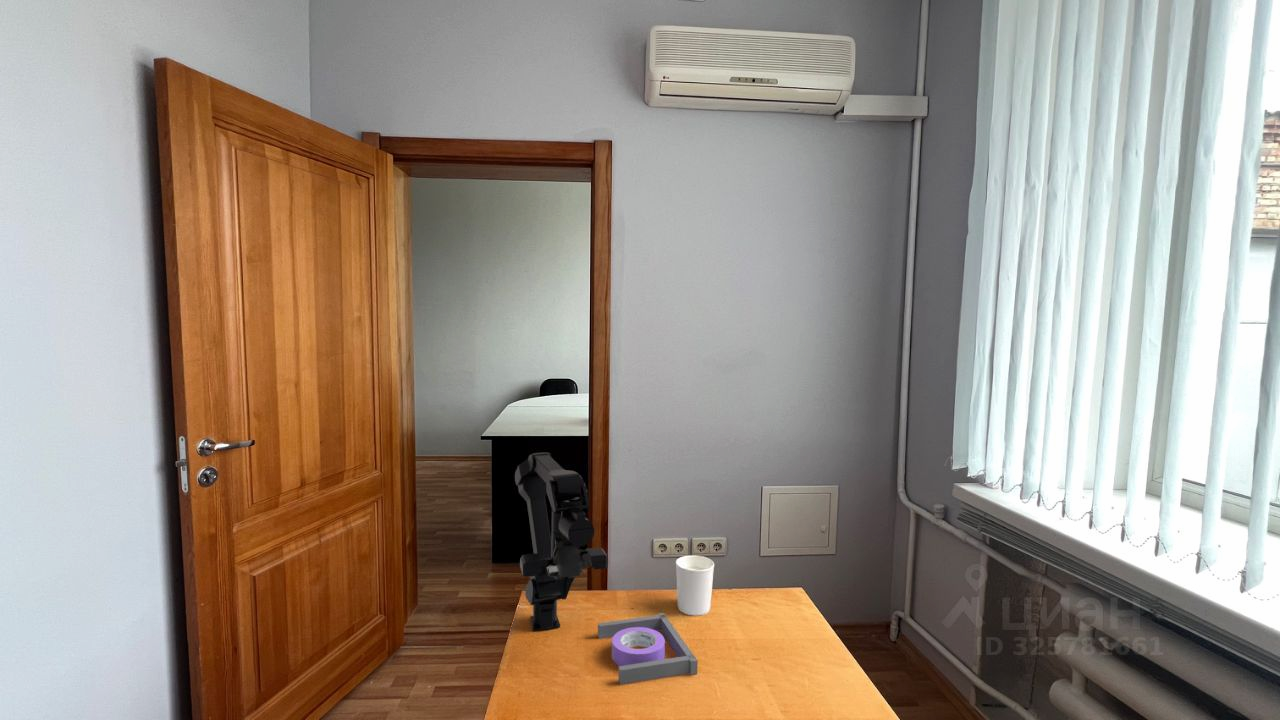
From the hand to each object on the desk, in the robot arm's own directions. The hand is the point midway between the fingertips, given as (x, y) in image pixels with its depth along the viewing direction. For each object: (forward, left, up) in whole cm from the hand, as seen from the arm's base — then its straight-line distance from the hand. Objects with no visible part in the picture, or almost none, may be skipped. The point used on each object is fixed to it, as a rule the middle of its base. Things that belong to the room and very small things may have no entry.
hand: (563, 598), depth 136 cm
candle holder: (-11, +36, -12) cm, 39 cm away
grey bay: (+6, +17, -12) cm, 22 cm away
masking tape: (+6, +16, -12) cm, 21 cm away
